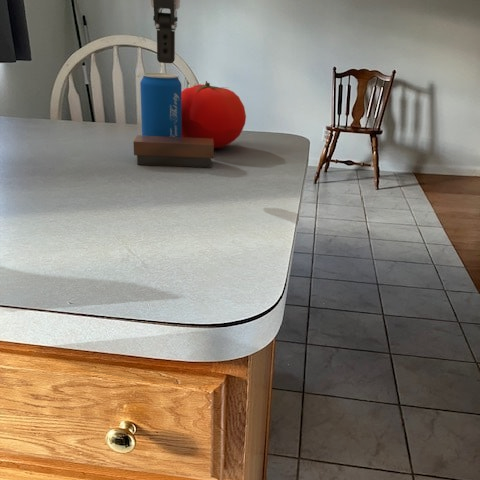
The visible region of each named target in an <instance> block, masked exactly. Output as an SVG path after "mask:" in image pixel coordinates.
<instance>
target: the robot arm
mask: <svg viewBox="0 0 480 480" xmlns="http://www.w3.org/2000/svg"><path fill="white" fill-rule="evenodd" d="M150 5H151V7H152V8H153V18H152V20H153V21H154V27H155V29H156V59H157V62H159V63H161V64H173V63H174V62H175V60H176V31H177V28H178V20H179V19H178V16H177V15H178V10H179V9H180V7H181V0H150ZM163 10H169V11H170V12H163Z"/></svg>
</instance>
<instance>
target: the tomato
mask: <svg viewBox="0 0 480 480" xmlns="http://www.w3.org/2000/svg"><path fill="white" fill-rule="evenodd" d="M246 121H247V113H246V109H245V105H244V104H243V102H242V100H241V98H240V97H239V96H238V94H236V93H235V92H234V91H232V90H231V89H229V88H226V87H220V86H219V87H218V86H214V85H211V83H210V82H208V81H207V80H205V84H203V83H202V84H196V85H193V86H191V87H186V88H184V89H183V90H181V137H189V138H213V141H214V149H221V148H223V147H226V146H228V145H230V144H231V143H232V142H234V141H236V139H238V138H239V137H240V136H241V133H242V132H243V130H244V127H245V125H246Z"/></svg>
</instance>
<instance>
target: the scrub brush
mask: <svg viewBox="0 0 480 480" xmlns="http://www.w3.org/2000/svg"><path fill="white" fill-rule="evenodd" d="M214 150H215V148H214V141H213V138H189V137H166V136H142V134H140V135H139V134H137V135H136V136H135V138H134V140H133V155H134V156H136V164H137V166H138V165H139V166H161V167H184V168H185V167H186V168H187V167H188V168H211V166H212V165H211V164H212V159H214V156H215V155H214V154H215V153H214Z"/></svg>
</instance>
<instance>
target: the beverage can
mask: <svg viewBox="0 0 480 480" xmlns="http://www.w3.org/2000/svg"><path fill="white" fill-rule="evenodd" d="M179 77H180V76H179V75H178V74H174V73H165V72H144V73H142V78H141V80H140V83H139V84H140V85H139V87H140V90H139V91H140V116H141V135H142V136H166V137H181V92H182V83H181V81H180V79H179Z"/></svg>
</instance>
